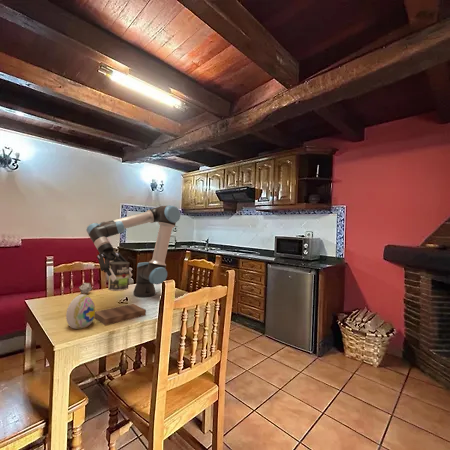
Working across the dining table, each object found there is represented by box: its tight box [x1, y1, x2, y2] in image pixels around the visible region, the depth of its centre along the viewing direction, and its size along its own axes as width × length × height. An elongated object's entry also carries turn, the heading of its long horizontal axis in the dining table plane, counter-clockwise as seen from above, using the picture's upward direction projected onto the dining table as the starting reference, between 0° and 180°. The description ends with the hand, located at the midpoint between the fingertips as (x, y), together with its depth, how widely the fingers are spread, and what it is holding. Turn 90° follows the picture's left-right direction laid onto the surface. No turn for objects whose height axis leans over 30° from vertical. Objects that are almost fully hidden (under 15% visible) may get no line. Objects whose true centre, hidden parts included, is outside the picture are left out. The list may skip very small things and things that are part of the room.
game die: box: [77, 281, 93, 295], centre depth 179 cm, size 9×8×10 cm
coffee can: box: [107, 261, 131, 292], centre depth 140 cm, size 10×10×14 cm
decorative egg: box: [65, 293, 96, 330], centre depth 125 cm, size 12×12×15 cm
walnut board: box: [94, 303, 147, 326], centre depth 139 cm, size 22×14×3 cm, turn 138°
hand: (122, 278), depth 138 cm, fingers closed on coffee can, 10 cm apart
